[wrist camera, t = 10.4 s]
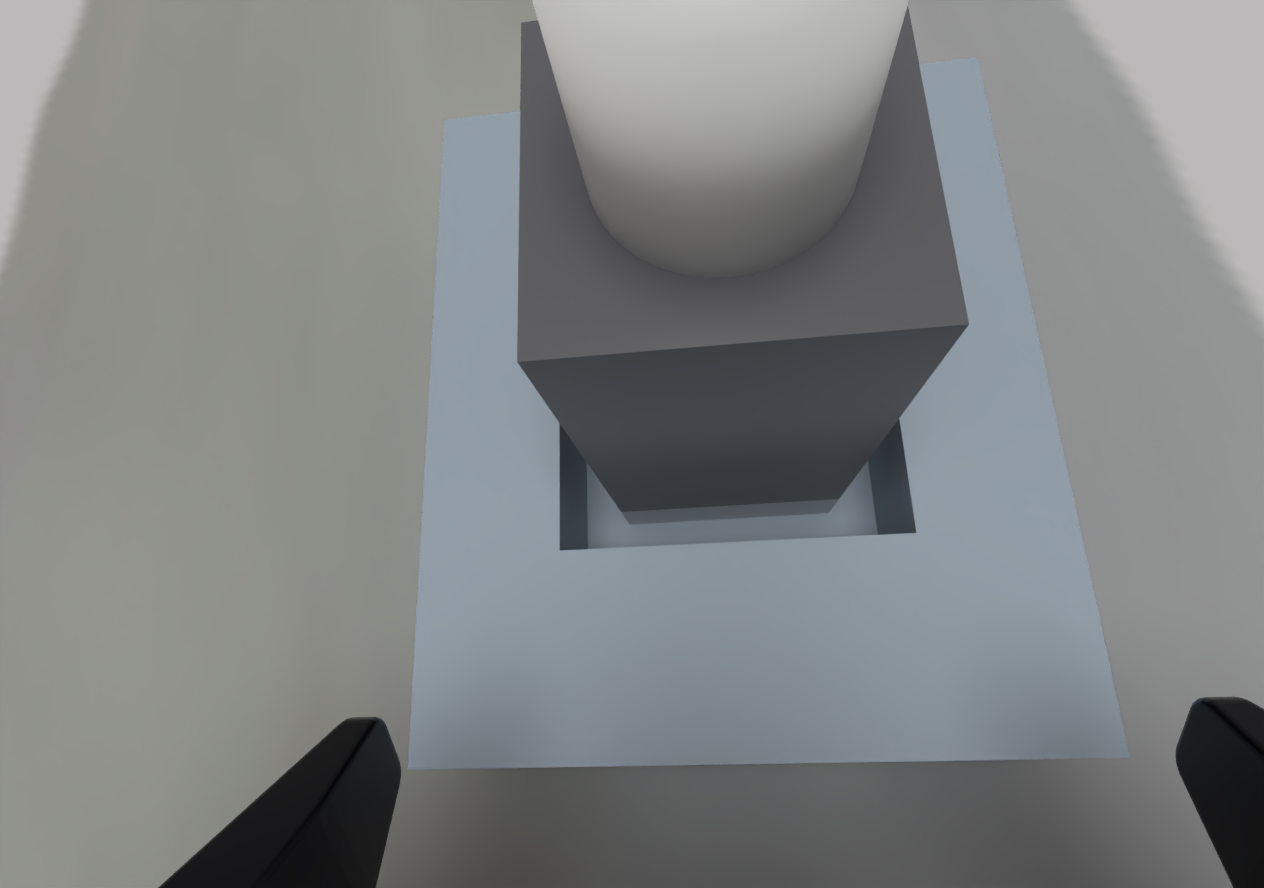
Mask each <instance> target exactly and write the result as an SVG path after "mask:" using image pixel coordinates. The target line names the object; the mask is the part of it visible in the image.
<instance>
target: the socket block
mask: <svg viewBox="0 0 1264 888" xmlns="http://www.w3.org/2000/svg"><path fill="white" fill-rule="evenodd" d="M919 67H920V72H921V77H922V82H923V87H924V92H925V98H926V103H927V108H928V113H929V118H930V124H931V129H932V134H933V139H934V144H935V150H936V155H937V160H938V165H939V170H940V176H941V181H942V186H943V191H944V196H945V201H946V207H947V212H948V217H949V222H950V227H951V233H952V238H953V243H954V248H955V253H956V259H957V264H958V269H959V274H960V279H961V284H962V290H963V295H964V300H965V305H966V310H967V316H968V321H969V325H968V327H967V328H966V329H965V331H964V332H963V333H962V335H961V336H960V337H959V339H958V340H957V341H956V343H955V344H954V345H953V347H952V348H951V349H950V351H949V352H948V353H947V355H946V356H945V357H944V359H943V360H942V362H941V363H940V364H939V366H938V367H937V368H936V370H935V371H934V372H933V374H932V375H931V376H930V378H929V379H928V380H927V382H926V383H925V384H924V386H923V387H922V388H921V390H920V391H919V392H918V394H917V395H916V396H915V398H914V399H913V400H912V402H911V403H910V405H909V406H908V407H907V409H906V410H905V411H904V413H903V414H902V415H901V417H900V418H899V419H898V421H897V422H896V423H895V425H894V426H893V427H892V429H891V430H890V431H889V433H888V434H887V435H886V437H885V438H884V439H883V441H882V442H881V443H880V445H879V446H878V448H877V449H876V450H875V452H874V453H873V454H872V456H871V457H870V458H869V460H868V461H867V462H866V464H865V465H864V466H863V468H862V469H861V470H860V472H859V473H858V474H857V476H856V477H855V478H854V480H853V481H852V482H851V484H850V485H849V486H848V488H847V489H846V491H845V492H844V493H843V495H842V496H841V497H840V499H839V500H838V501H837V503H836V504H835V505H834V507H833V508H832V509H831V511H830V512H829V513H824V514H807V515H789V516H772V517H755V518H737V519H720V520H702V521H685V522H667V523H650V524H633V525H630V524H629V523H628V521H627V520H626V518H625V517H624V515H623V514H622V512H621V511H620V510H619V508H618V507H617V505H616V504H615V502H614V501H613V500H612V498H611V497H610V495H609V494H608V492H607V491H606V489H605V488H604V487H603V485H602V484H601V482H600V481H599V479H598V478H597V476H596V475H595V474H594V472H593V471H592V469H591V468H590V466H589V465H588V463H587V462H586V461H585V459H584V458H583V456H582V455H581V453H580V452H579V450H578V449H577V448H576V446H575V445H574V443H573V442H572V440H571V439H570V438H569V436H568V435H567V433H566V432H565V430H564V429H563V427H562V426H561V425H560V423H559V422H558V420H557V419H556V417H555V416H554V414H553V413H552V412H551V410H550V409H549V407H548V406H547V404H546V403H545V401H544V400H543V399H542V397H541V396H540V394H539V393H538V391H537V390H536V388H535V387H534V386H533V384H532V383H531V381H530V380H529V378H528V377H527V376H526V374H525V373H524V371H523V370H522V368H521V367H520V365H519V364H518V363H517V330H518V253H519V175H520V111H515V112H507V113H498V114H490V115H481V116H473V117H464V118H456V119H447V120H444V133H443V151H442V168H441V186H440V204H439V221H438V239H437V257H436V275H435V292H434V310H433V328H432V345H431V363H430V381H429V398H428V416H427V434H426V452H425V469H424V487H423V505H422V522H421V540H420V558H419V576H418V593H417V611H416V629H415V646H414V664H413V682H412V700H411V717H410V735H409V753H408V770H421V769H482V768H544V767H605V766H667V765H728V764H790V763H851V762H912V761H974V760H1035V759H1097V758H1130V755H1129V750H1128V745H1127V741H1126V736H1125V732H1124V727H1123V722H1122V718H1121V713H1120V709H1119V704H1118V699H1117V695H1116V690H1115V686H1114V681H1113V676H1112V672H1111V667H1110V663H1109V658H1108V653H1107V649H1106V644H1105V640H1104V635H1103V630H1102V626H1101V621H1100V617H1099V612H1098V607H1097V603H1096V598H1095V594H1094V589H1093V585H1092V580H1091V575H1090V571H1089V566H1088V562H1087V557H1086V552H1085V548H1084V543H1083V539H1082V534H1081V529H1080V525H1079V520H1078V516H1077V511H1076V506H1075V502H1074V497H1073V493H1072V488H1071V483H1070V479H1069V474H1068V470H1067V465H1066V460H1065V456H1064V451H1063V447H1062V442H1061V438H1060V433H1059V428H1058V424H1057V419H1056V415H1055V410H1054V405H1053V401H1052V396H1051V392H1050V387H1049V382H1048V378H1047V373H1046V369H1045V364H1044V359H1043V355H1042V350H1041V346H1040V341H1039V336H1038V332H1037V327H1036V323H1035V318H1034V313H1033V309H1032V304H1031V300H1030V295H1029V290H1028V286H1027V281H1026V277H1025V272H1024V268H1023V263H1022V258H1021V254H1020V249H1019V245H1018V240H1017V235H1016V231H1015V226H1014V222H1013V217H1012V212H1011V208H1010V203H1009V199H1008V194H1007V189H1006V185H1005V180H1004V176H1003V171H1002V166H1001V162H1000V157H999V153H998V148H997V143H996V139H995V134H994V130H993V125H992V121H991V116H990V111H989V107H988V102H987V98H986V93H985V88H984V84H983V79H982V75H981V70H980V65H979V61H978V57H975V58H967V59H958V60H949V61H941V62H932V63H924V64H919Z"/></svg>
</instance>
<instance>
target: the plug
mask: <svg viewBox="0 0 1264 888" xmlns="http://www.w3.org/2000/svg"><path fill="white" fill-rule="evenodd" d="M532 1H533V5H534V8H535V11H536V15H537V18H538V21H531V22H523V23H521V98H520V175H519V253H518V330H517V363H518V364H519V365H520V367H521V368H522V370H523V371H524V373H525V374H526V376H527V377H528V378H529V380H530V381H531V383H532V384H533V386H534V387H535V388H536V390H537V391H538V393H539V394H540V396H541V397H542V399H543V400H544V401H545V403H546V404H547V406H548V407H549V409H550V410H551V412H552V413H553V414H554V416H555V417H556V419H557V420H558V422H559V423H560V425H561V426H562V427H563V429H564V430H565V432H566V433H567V435H568V436H569V438H570V439H571V440H572V442H573V443H574V445H575V446H576V448H577V449H578V450H579V452H580V453H581V455H582V456H583V458H584V459H585V461H586V462H587V463H588V465H589V466H590V468H591V469H592V471H593V472H594V474H595V475H596V476H597V478H598V479H599V481H600V482H601V484H602V485H603V487H604V488H605V489H606V491H607V492H608V494H609V495H610V497H611V498H612V500H613V501H614V502H615V504H616V505H617V507H618V508H619V510H620V511H621V512H622V514H623V515H624V517H625V518H626V520H627V521H628V523H629V524H630V525H633V524H650V523H667V522H685V521H702V520H720V519H737V518H755V517H772V516H789V515H807V514H824V513H829V512H830V511H831V509H832V508H833V507H834V505H835V504H836V503H837V501H838V500H839V499H840V497H841V496H842V495H843V493H844V492H845V491H846V489H847V488H848V486H849V485H850V484H851V482H852V481H853V480H854V478H855V477H856V476H857V474H858V473H859V472H860V470H861V469H862V468H863V466H864V465H865V464H866V462H867V461H868V460H869V458H870V457H871V456H872V454H873V453H874V452H875V450H876V449H877V448H878V446H879V445H880V443H881V442H882V441H883V439H884V438H885V437H886V435H887V434H888V433H889V431H890V430H891V429H892V427H893V426H894V425H895V423H896V422H897V421H898V419H899V418H900V417H901V415H902V414H903V413H904V411H905V410H906V409H907V407H908V406H909V405H910V403H911V402H912V400H913V399H914V398H915V396H916V395H917V394H918V392H919V391H920V390H921V388H922V387H923V386H924V384H925V383H926V382H927V380H928V379H929V378H930V376H931V375H932V374H933V372H934V371H935V370H936V368H937V367H938V366H939V364H940V363H941V362H942V360H943V359H944V357H945V356H946V355H947V353H948V352H949V351H950V349H951V348H952V347H953V345H954V344H955V343H956V341H957V340H958V339H959V337H960V336H961V335H962V333H963V332H964V331H965V329H966V328H967V327H968V325H969V321H968V316H967V310H966V305H965V300H964V295H963V290H962V284H961V279H960V274H959V269H958V264H957V259H956V253H955V248H954V243H953V238H952V233H951V227H950V222H949V217H948V212H947V207H946V201H945V196H944V191H943V186H942V181H941V176H940V170H939V165H938V160H937V155H936V150H935V144H934V139H933V134H932V129H931V124H930V118H929V113H928V108H927V103H926V98H925V92H924V87H923V82H922V77H921V72H920V67H919V61H918V56H917V51H916V46H915V41H914V35H913V30H912V25H911V20H910V15H909V9H908V3H909V0H532Z"/></svg>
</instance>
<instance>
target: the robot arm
mask: <svg viewBox="0 0 1264 888" xmlns="http://www.w3.org/2000/svg"><path fill="white" fill-rule="evenodd" d="M1176 763H1177V767H1178V770H1179V773H1180V775H1181V778H1182V780H1183V782H1184V784H1185V786H1186V788H1187V790H1188V793H1189V795H1190V797H1191V799H1192V801H1193V803H1194V805H1195V807H1196V809H1197V812H1198V814H1199V816H1200V818H1201V820H1202V822H1203V824H1204V826H1205V829H1206V831H1207V833H1208V835H1209V837H1210V839H1211V841H1212V843H1213V846H1214V848H1215V850H1216V852H1217V854H1218V856H1219V858H1220V860H1221V862H1222V865H1223V867H1224V869H1225V871H1226V873H1227V875H1228V877H1229V879H1230V882H1231V884H1232V886H1233V888H1264V709H1262V708H1261V707H1259V706H1257V705H1256V704H1254V703H1252V702H1250V701H1248V700H1246V699H1243V698H1239V697H1204V698H1199V699H1198V700H1196V701H1195V702H1194V703H1193V704H1192V706H1191V708H1190V711H1189V714H1188V716H1187V719H1186V722H1185V725H1184V728H1183V730H1182V733H1181V736H1180V739H1179V741H1178V744H1177V748H1176ZM400 779H401V767H400V761H399V758H398V756H397V753H396V750H395V748H394V745H393V742H392V740H391V737H390V735H389V732H388V729H387V727H386V724H385V722H384V721H383V720H382V719H380V718H378V717H354V718H349V719H346V720H345V721H343V722H342V723H340V724H339V725H338V726H337V727H336V728H335V729H333V730H332V731H331V732H330V733H329V734H328V735H327V736H326V737H325V738H324V739H322V740H321V741H320V742H319V743H318V744H317V745H316V746H315V747H314V748H312V749H311V750H310V751H309V752H308V753H307V754H306V755H305V756H304V757H302V758H301V759H300V760H299V761H298V762H297V763H296V764H295V765H294V766H293V767H291V768H290V769H289V770H288V771H287V772H286V773H285V774H284V775H283V776H281V777H280V778H279V779H278V780H277V781H276V782H275V783H274V784H273V785H271V786H270V787H269V788H268V789H267V790H266V791H265V792H264V793H263V794H262V795H260V796H259V797H258V798H257V799H256V800H255V801H254V802H253V803H252V804H250V805H249V806H248V807H247V808H246V809H245V810H244V811H243V812H242V813H240V814H239V815H238V816H237V817H236V818H235V819H234V820H233V821H232V822H230V823H229V824H228V825H227V826H226V827H225V828H224V829H223V830H222V831H221V832H219V833H218V834H217V835H216V836H215V837H214V838H213V839H212V840H211V841H209V842H208V843H207V844H206V845H205V846H204V847H203V848H202V849H201V850H199V851H198V852H197V853H196V854H195V855H194V856H193V857H192V858H191V859H190V860H188V861H187V862H186V863H185V864H184V865H183V866H182V867H181V868H180V869H178V870H177V871H176V872H175V873H174V874H173V875H172V876H171V877H170V878H168V879H167V880H166V881H165V882H164V883H163V884H162V885H161V886H160V887H158V888H376V884H377V880H378V876H379V871H380V867H381V863H382V859H383V854H384V850H385V846H386V841H387V837H388V833H389V828H390V824H391V820H392V815H393V811H394V807H395V802H396V798H397V794H398V790H399V785H400Z"/></svg>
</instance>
